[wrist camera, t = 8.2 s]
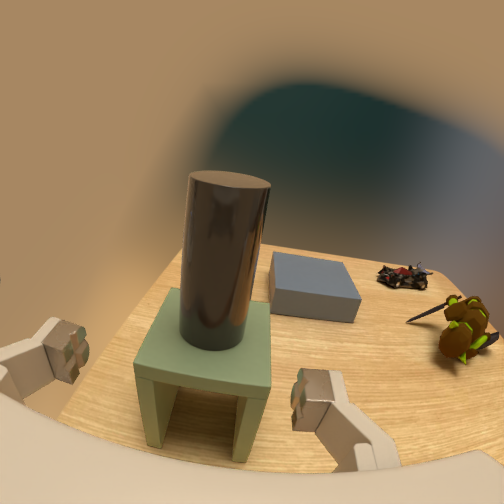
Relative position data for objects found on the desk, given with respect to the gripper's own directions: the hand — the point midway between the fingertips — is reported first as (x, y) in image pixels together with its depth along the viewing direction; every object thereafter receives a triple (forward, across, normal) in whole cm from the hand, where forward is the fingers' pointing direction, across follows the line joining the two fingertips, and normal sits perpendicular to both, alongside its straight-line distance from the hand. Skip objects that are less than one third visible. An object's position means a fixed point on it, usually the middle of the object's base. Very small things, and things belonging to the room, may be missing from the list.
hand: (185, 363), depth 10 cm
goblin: (+22, -34, +15) cm, 44 cm away
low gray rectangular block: (+32, -12, +15) cm, 38 cm away
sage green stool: (+8, 0, +15) cm, 17 cm away
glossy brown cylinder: (+8, 0, +5) cm, 10 cm away
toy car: (+42, -33, +15) cm, 56 cm away
